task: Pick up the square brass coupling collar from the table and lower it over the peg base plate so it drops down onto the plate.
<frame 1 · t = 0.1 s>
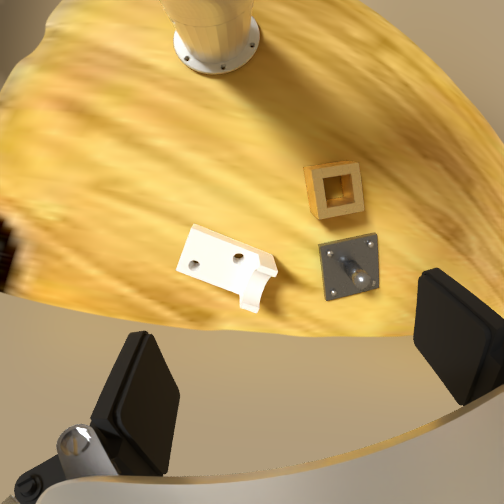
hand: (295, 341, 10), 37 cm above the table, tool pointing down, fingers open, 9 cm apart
collar: (328, 185, 44), on the table
peg base plate: (349, 266, 49), on the table
bracket: (225, 256, 48), on the table
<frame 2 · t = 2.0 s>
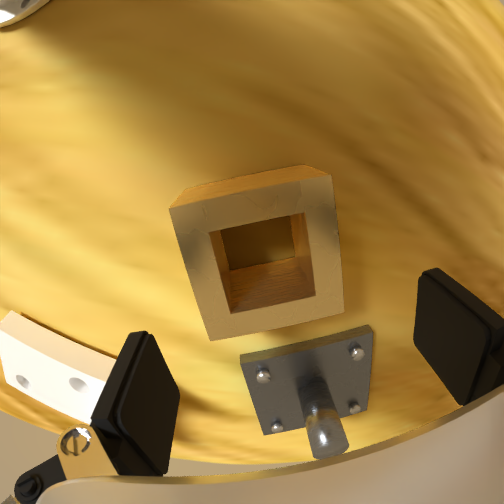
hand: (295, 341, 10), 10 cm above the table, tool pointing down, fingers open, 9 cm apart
collar: (256, 232, 18), on the table
peg base plate: (311, 384, 23), on the table
bracket: (77, 362, 22), on the table
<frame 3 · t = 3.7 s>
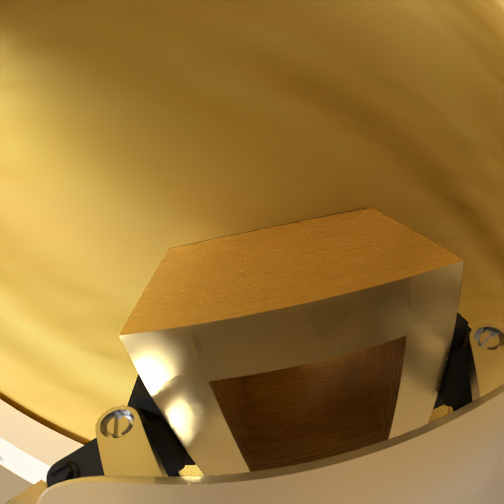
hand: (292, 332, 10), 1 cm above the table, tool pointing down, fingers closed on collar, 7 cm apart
collar: (288, 317, 11), on the table, touching gripper
bracket: (57, 439, 15), on the table
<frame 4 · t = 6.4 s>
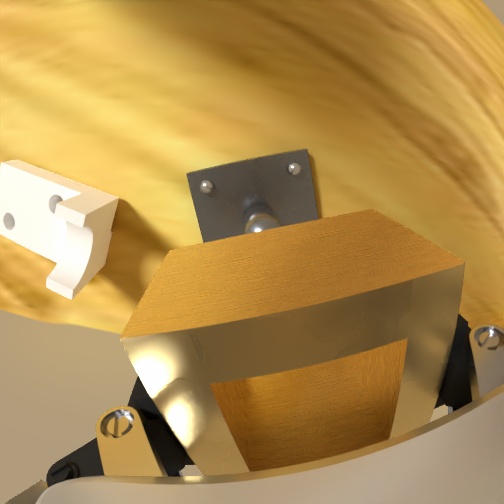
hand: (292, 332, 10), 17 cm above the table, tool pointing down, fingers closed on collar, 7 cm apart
collar: (289, 318, 11), point 16 cm above the table, touching gripper
peg base plate: (258, 216, 26), on the table
bracket: (60, 208, 25), on the table
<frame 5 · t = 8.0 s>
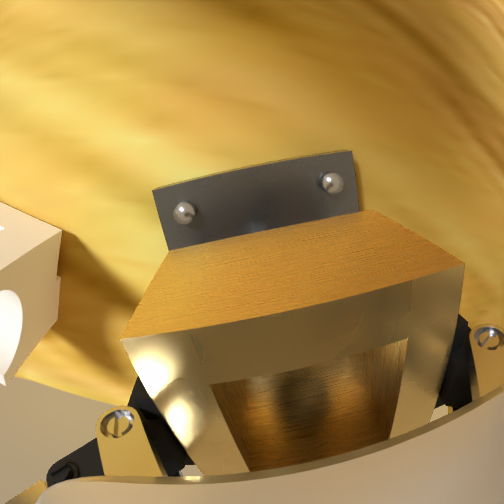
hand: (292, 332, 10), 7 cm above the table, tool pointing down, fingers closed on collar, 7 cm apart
collar: (289, 318, 11), point 6 cm above the table, touching gripper
peg base plate: (269, 256, 17), on the table
when the fingers open (5 cm above the table, at t = 9.4 s): collar drops 3 cm, resting on peg base plate.
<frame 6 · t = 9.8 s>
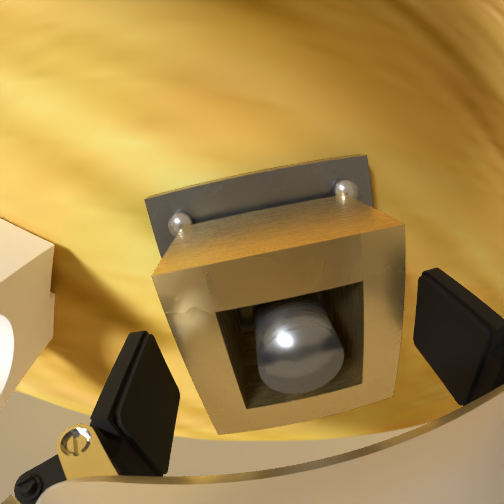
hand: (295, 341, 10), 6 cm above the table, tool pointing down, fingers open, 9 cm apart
collar: (279, 284, 13), point 2 cm above the table, touching peg base plate
peg base plate: (275, 271, 15), on the table
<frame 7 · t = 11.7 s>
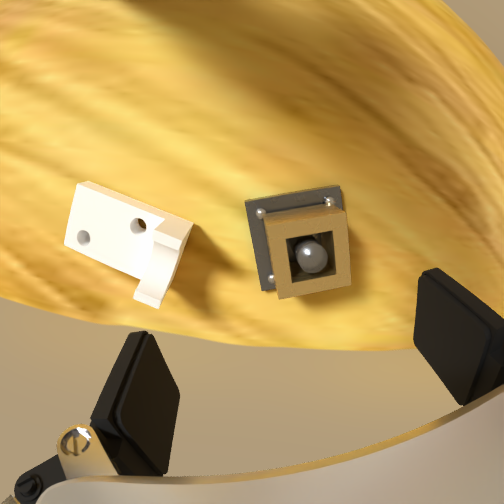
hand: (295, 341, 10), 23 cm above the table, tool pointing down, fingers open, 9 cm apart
collar: (301, 241, 31), point 2 cm above the table, touching peg base plate
peg base plate: (298, 237, 33), on the table
bracket: (132, 228, 32), on the table
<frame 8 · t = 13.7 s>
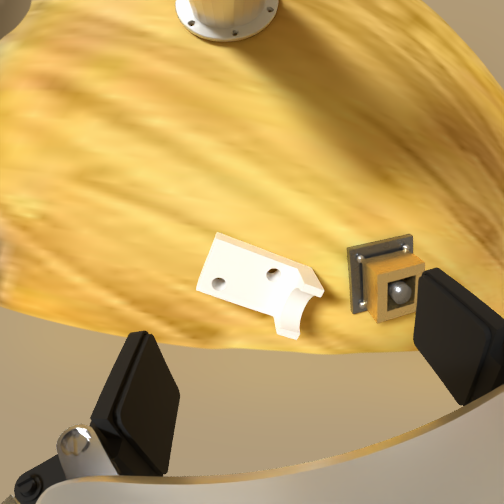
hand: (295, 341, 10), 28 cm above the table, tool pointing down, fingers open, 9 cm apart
collar: (385, 277, 39), point 2 cm above the table, touching peg base plate
peg base plate: (380, 273, 41), on the table
bracket: (254, 270, 40), on the table
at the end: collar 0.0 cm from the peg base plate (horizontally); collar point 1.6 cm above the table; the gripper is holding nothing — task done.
